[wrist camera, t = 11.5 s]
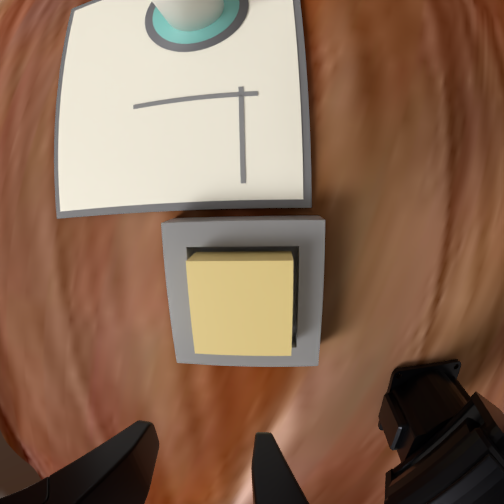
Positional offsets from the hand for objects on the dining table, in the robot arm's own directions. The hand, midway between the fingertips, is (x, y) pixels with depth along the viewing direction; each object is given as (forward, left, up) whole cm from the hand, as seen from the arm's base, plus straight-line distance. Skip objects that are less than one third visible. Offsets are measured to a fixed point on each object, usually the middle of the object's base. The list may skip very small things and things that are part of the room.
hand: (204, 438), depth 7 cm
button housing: (0, 0, -13) cm, 13 cm away
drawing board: (+5, -14, -13) cm, 20 cm away
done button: (0, 0, -11) cm, 11 cm away
